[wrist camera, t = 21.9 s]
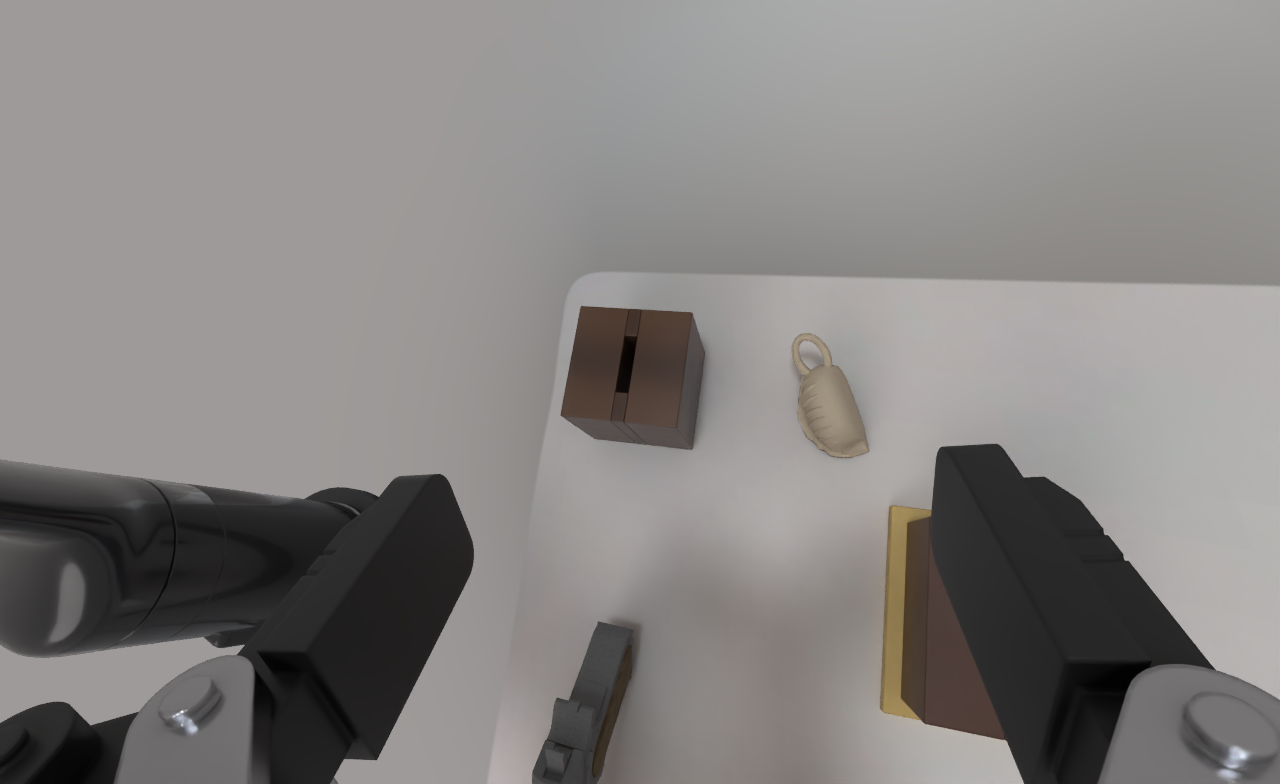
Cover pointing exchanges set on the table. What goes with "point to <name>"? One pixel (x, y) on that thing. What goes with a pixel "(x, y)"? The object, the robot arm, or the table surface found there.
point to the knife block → (635, 376)
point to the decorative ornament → (828, 405)
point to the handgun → (588, 712)
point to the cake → (927, 638)
